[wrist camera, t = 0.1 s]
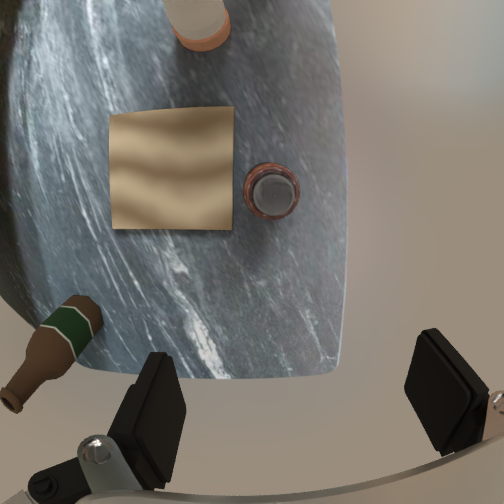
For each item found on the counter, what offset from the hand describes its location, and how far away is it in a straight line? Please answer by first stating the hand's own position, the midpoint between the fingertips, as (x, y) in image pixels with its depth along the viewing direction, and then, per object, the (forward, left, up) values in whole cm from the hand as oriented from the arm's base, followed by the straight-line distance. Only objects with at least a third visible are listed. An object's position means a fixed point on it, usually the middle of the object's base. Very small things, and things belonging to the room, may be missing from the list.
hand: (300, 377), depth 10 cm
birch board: (-6, -13, -31) cm, 34 cm away
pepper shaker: (-26, -9, -31) cm, 41 cm away
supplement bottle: (-4, 0, -31) cm, 31 cm away
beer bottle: (+17, -30, -31) cm, 46 cm away
